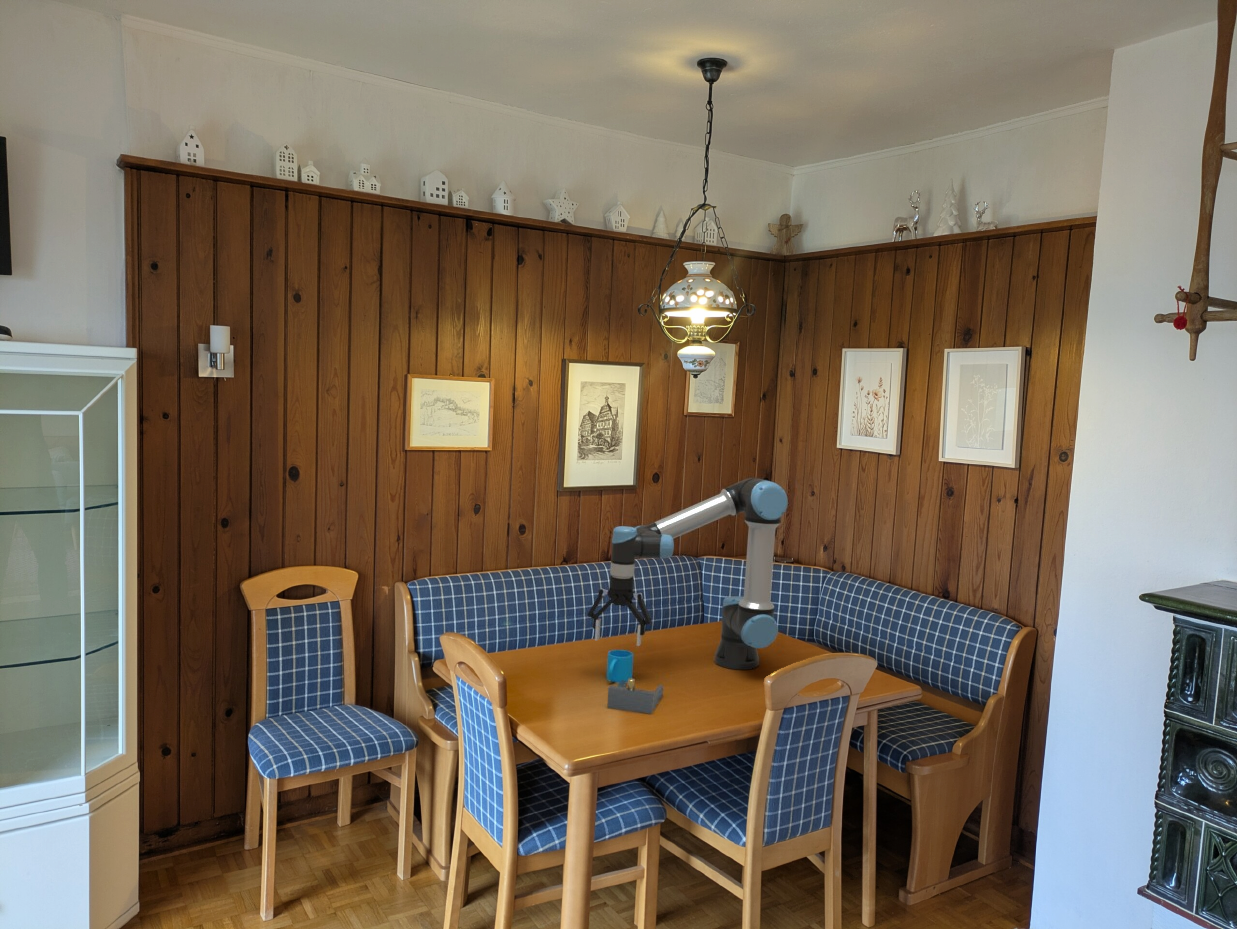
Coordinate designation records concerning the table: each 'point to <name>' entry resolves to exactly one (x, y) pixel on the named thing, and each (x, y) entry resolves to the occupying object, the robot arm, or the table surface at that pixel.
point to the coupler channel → (633, 697)
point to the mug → (619, 665)
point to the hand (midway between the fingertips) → (617, 642)
